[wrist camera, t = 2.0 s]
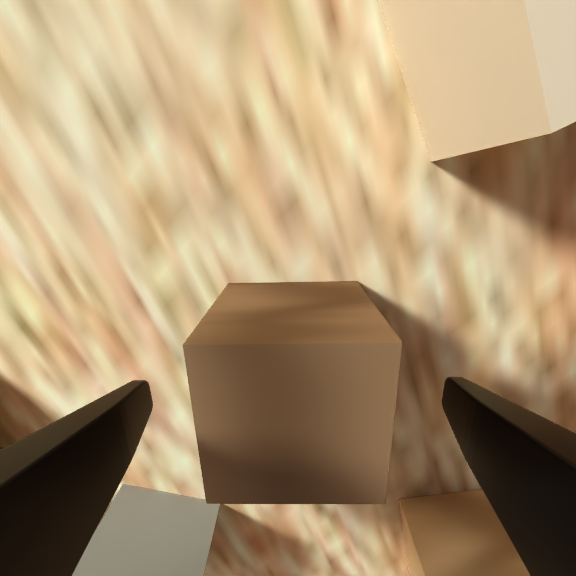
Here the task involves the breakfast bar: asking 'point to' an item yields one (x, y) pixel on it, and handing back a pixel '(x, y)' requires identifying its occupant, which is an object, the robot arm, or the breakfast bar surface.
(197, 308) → the breakfast bar surface
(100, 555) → the slate blue cube
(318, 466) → the walnut cube
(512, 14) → the cream cube
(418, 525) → the oak cube
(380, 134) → the breakfast bar surface
